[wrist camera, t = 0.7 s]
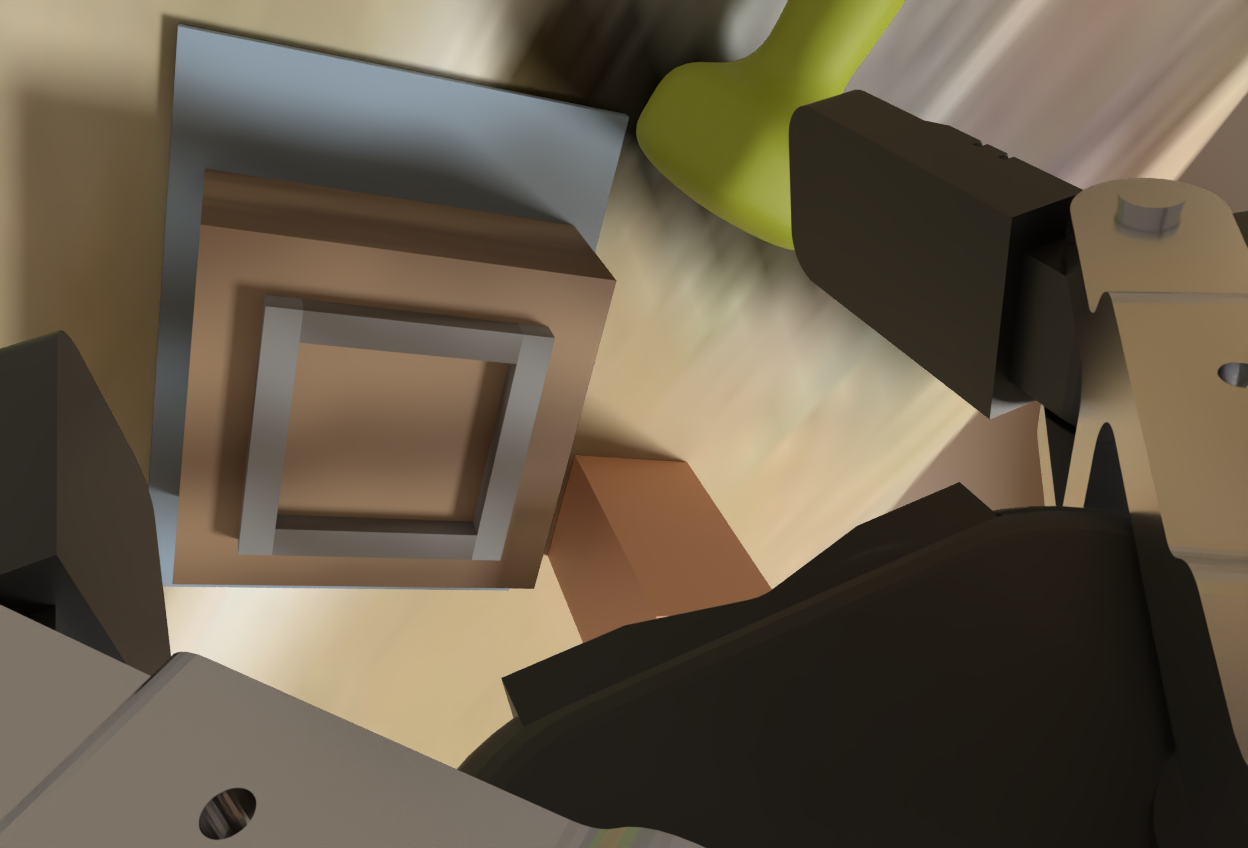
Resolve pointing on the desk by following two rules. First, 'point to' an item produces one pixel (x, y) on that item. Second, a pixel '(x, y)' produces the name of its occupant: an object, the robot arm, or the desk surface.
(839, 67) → the dumbbell
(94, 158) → the desk surface
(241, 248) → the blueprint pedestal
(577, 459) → the terracotta block
